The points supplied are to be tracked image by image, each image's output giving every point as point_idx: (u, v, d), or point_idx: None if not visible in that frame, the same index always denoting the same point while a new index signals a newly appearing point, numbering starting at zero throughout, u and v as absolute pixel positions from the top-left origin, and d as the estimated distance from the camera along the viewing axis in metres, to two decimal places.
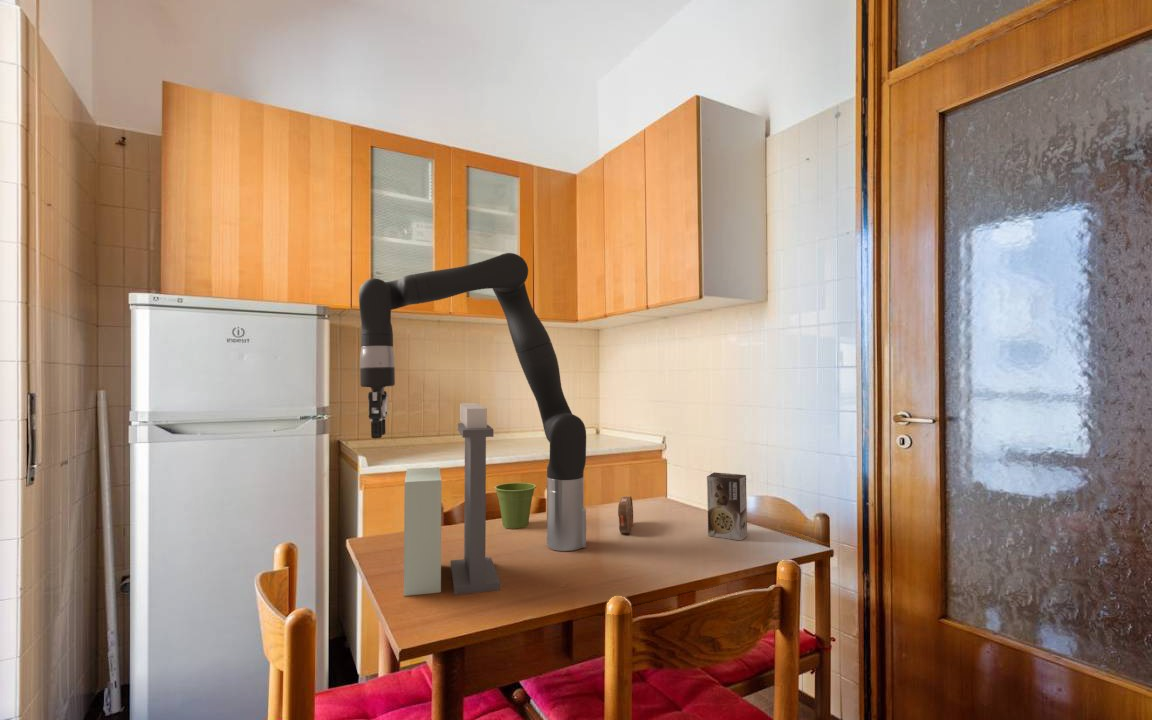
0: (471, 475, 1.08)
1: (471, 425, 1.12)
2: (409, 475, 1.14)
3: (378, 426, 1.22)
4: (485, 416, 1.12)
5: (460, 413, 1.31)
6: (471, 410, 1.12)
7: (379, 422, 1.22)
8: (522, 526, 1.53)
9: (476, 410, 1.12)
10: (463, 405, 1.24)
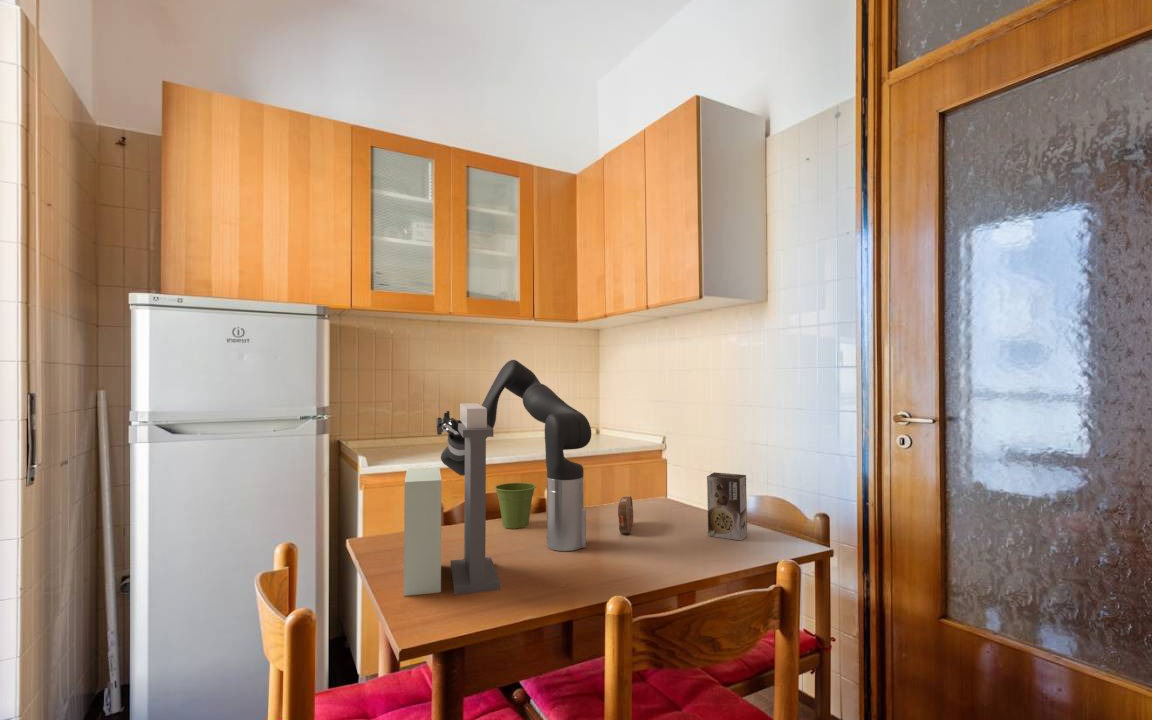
0: (471, 475, 1.08)
1: (471, 425, 1.12)
2: (409, 475, 1.14)
3: None
4: (485, 416, 1.12)
5: (460, 413, 1.31)
6: (471, 410, 1.12)
7: None
8: (522, 526, 1.53)
9: (476, 410, 1.12)
10: (463, 405, 1.24)
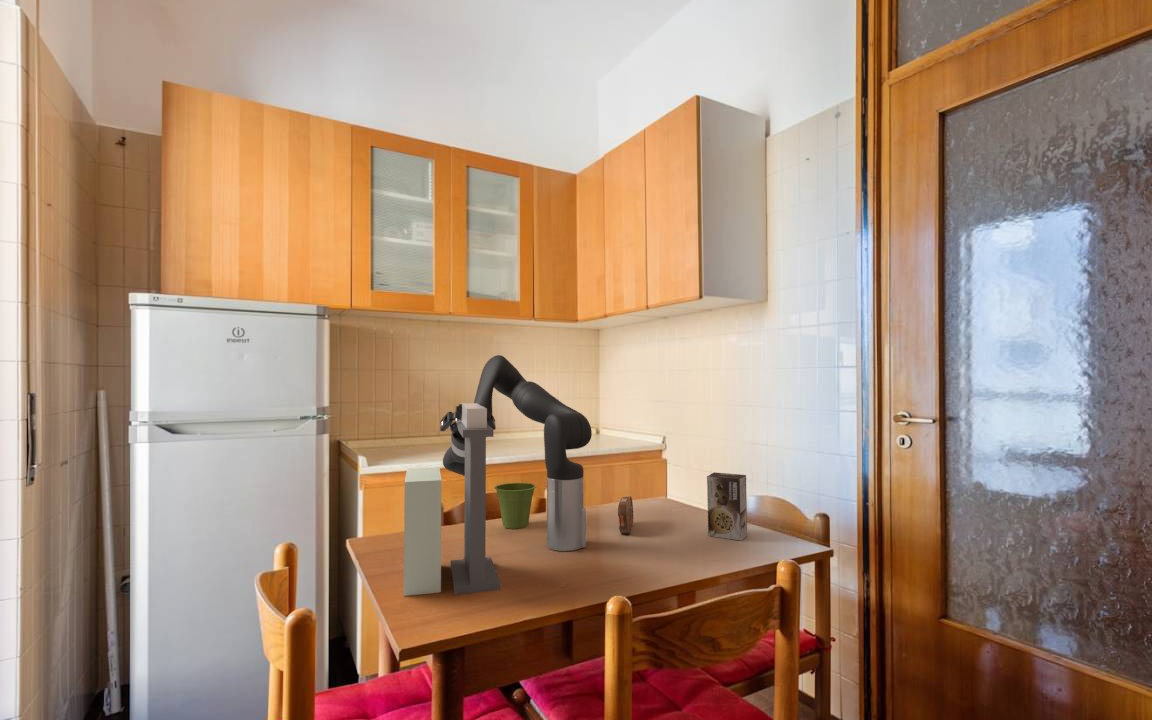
0: (471, 475, 1.08)
1: (471, 425, 1.12)
2: (409, 475, 1.14)
3: None
4: (485, 416, 1.12)
5: None
6: (471, 410, 1.12)
7: None
8: (522, 526, 1.53)
9: (476, 410, 1.12)
10: (463, 405, 1.24)
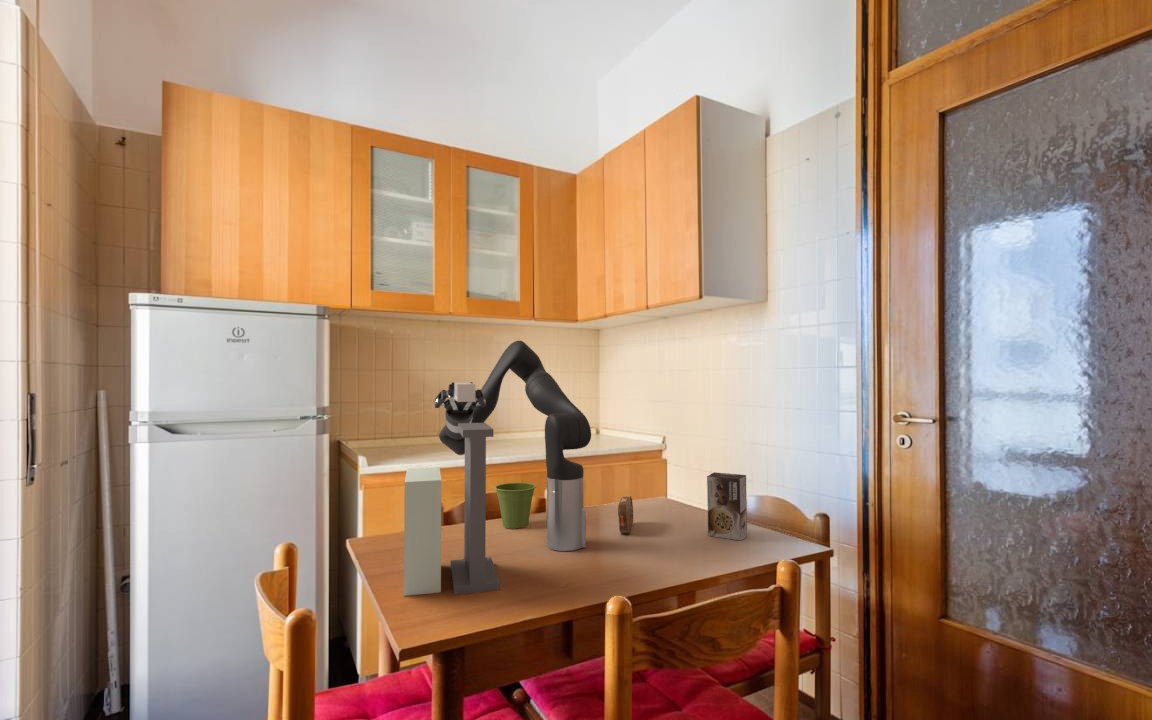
0: (471, 475, 1.08)
1: (461, 399, 1.24)
2: (409, 475, 1.14)
3: None
4: (474, 391, 1.25)
5: None
6: (461, 385, 1.25)
7: None
8: (522, 526, 1.53)
9: (465, 385, 1.25)
10: None
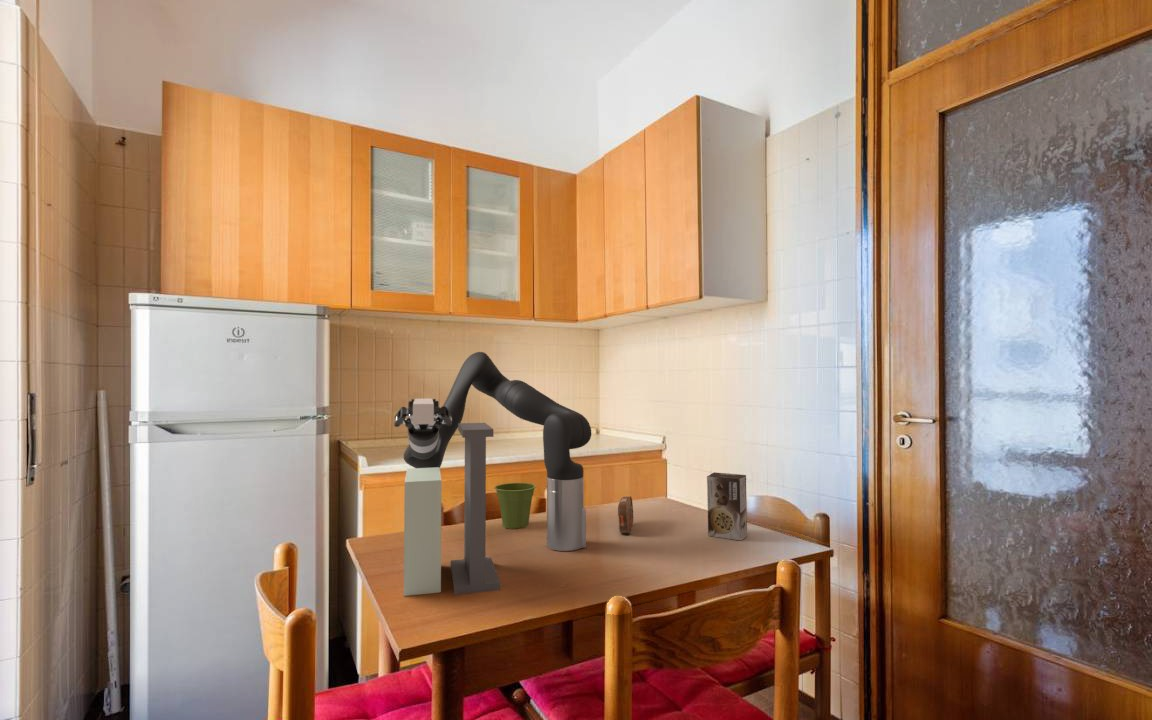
0: (471, 475, 1.08)
1: (417, 421, 1.09)
2: (409, 475, 1.14)
3: None
4: (432, 412, 1.10)
5: None
6: (417, 405, 1.09)
7: None
8: (522, 526, 1.53)
9: (422, 406, 1.09)
10: (414, 400, 1.21)
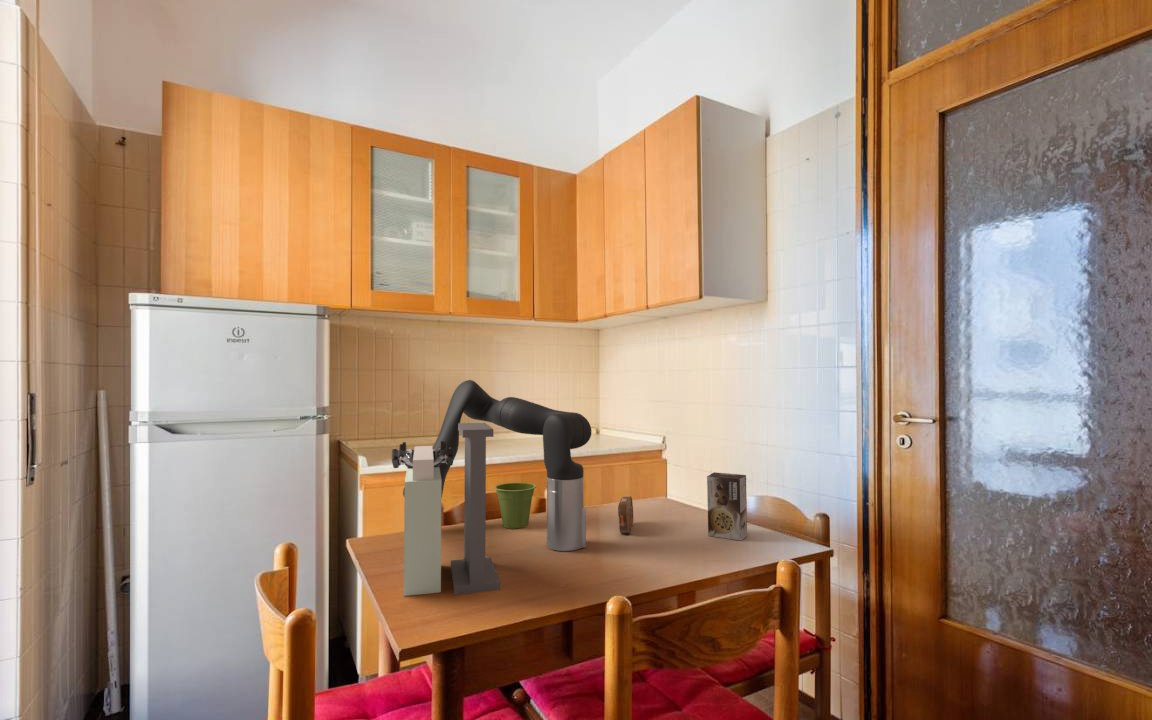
0: (471, 475, 1.08)
1: (417, 477, 1.09)
2: (409, 475, 1.14)
3: None
4: (432, 467, 1.09)
5: None
6: (417, 461, 1.09)
7: None
8: (522, 526, 1.53)
9: (422, 461, 1.09)
10: (414, 451, 1.21)
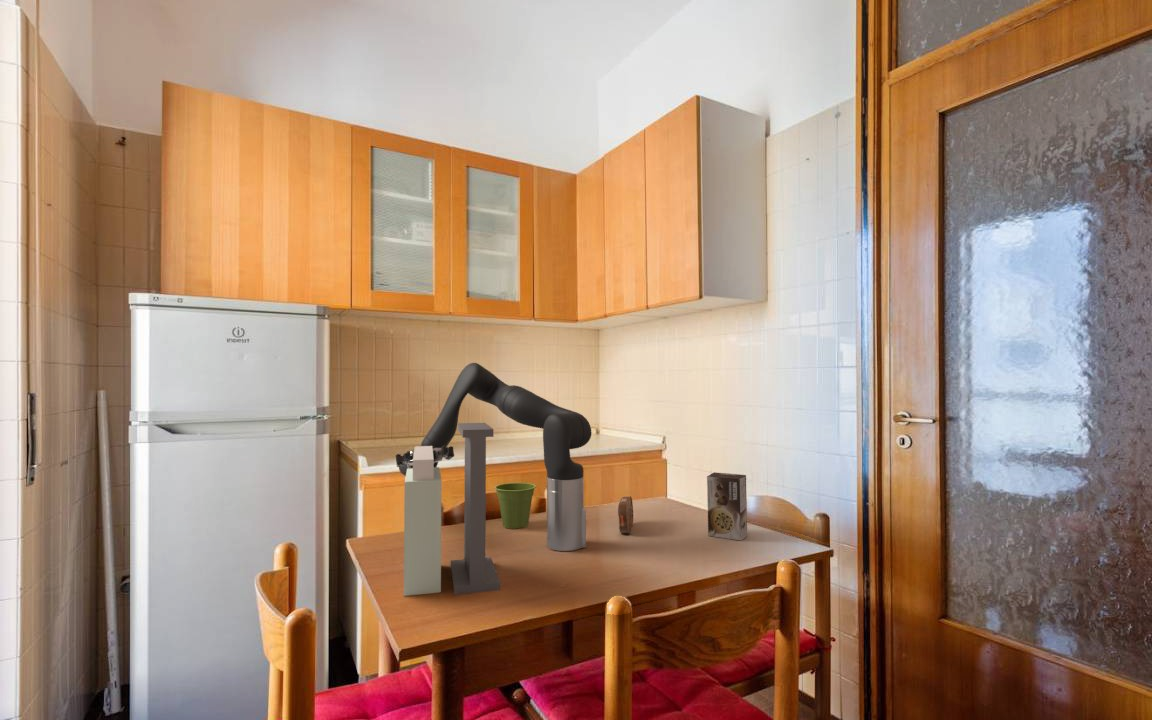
0: (471, 475, 1.08)
1: (417, 477, 1.09)
2: (409, 475, 1.14)
3: (404, 455, 1.35)
4: (432, 467, 1.09)
5: None
6: (417, 461, 1.09)
7: None
8: (522, 526, 1.53)
9: (422, 461, 1.09)
10: (414, 451, 1.21)
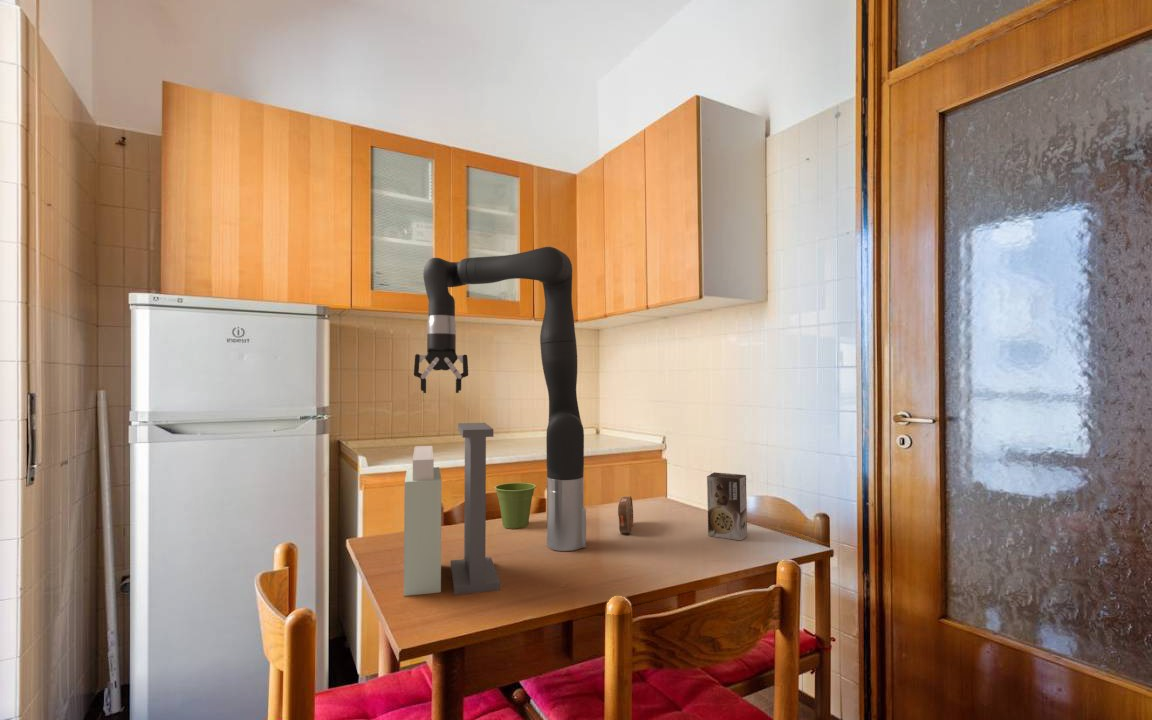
0: (471, 475, 1.08)
1: (417, 477, 1.09)
2: (409, 475, 1.14)
3: (421, 383, 1.46)
4: (432, 467, 1.09)
5: None
6: (417, 461, 1.09)
7: (422, 379, 1.46)
8: (522, 526, 1.53)
9: (422, 461, 1.09)
10: (414, 451, 1.21)
